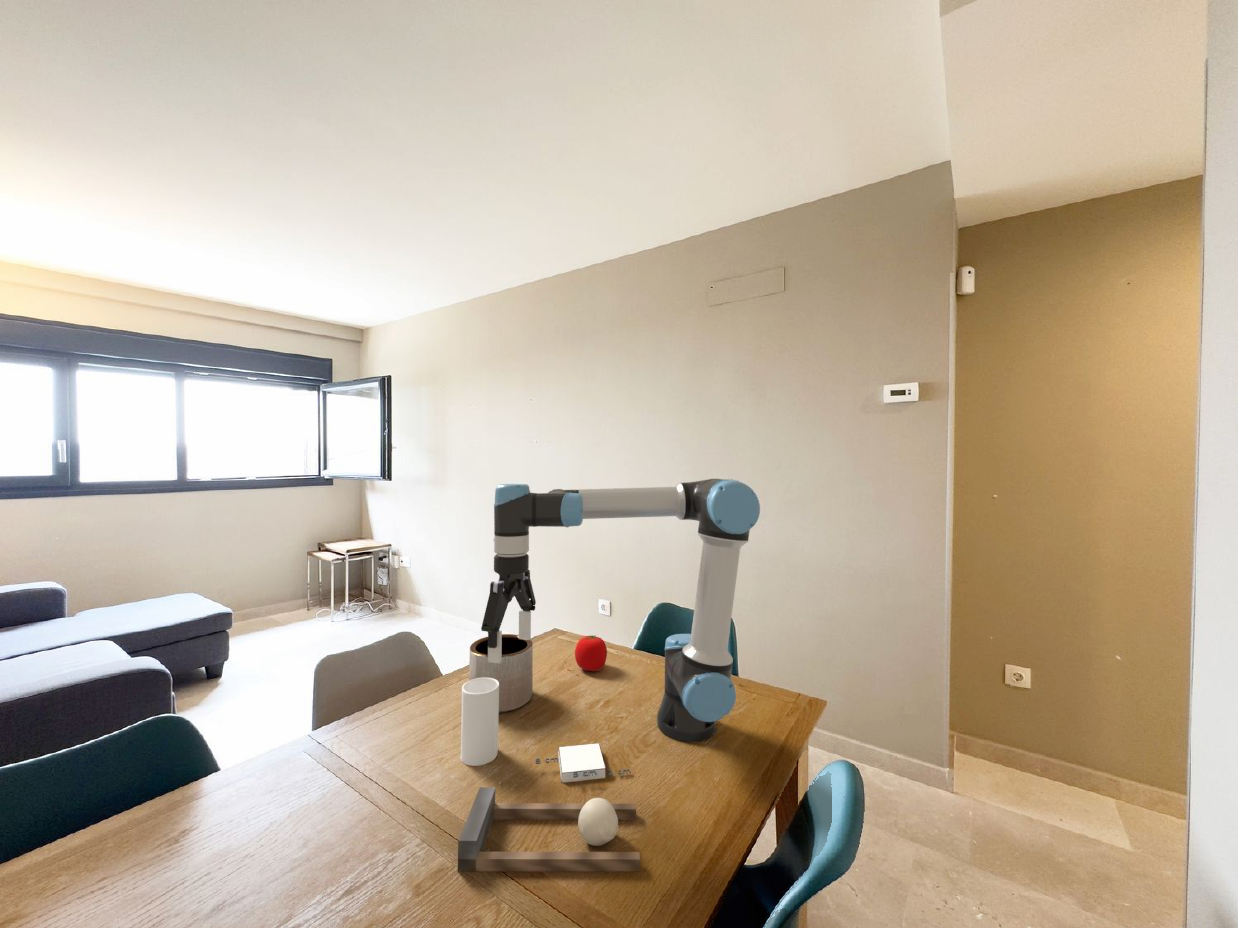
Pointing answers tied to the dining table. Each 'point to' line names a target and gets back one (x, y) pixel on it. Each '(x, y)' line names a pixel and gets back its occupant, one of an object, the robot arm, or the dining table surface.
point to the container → (581, 763)
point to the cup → (479, 721)
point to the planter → (506, 669)
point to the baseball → (597, 822)
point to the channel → (534, 861)
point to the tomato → (591, 653)
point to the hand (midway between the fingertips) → (510, 649)
